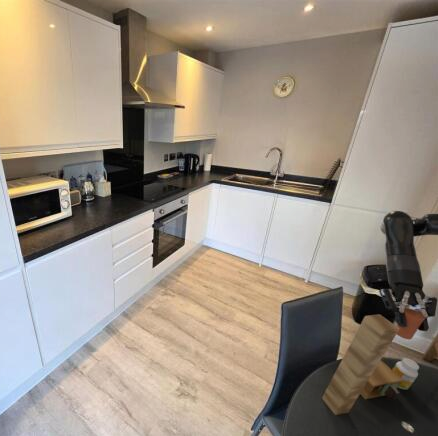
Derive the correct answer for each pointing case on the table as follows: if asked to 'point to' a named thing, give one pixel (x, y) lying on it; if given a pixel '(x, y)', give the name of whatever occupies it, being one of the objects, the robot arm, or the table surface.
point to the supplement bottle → (406, 372)
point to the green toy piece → (390, 390)
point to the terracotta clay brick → (410, 323)
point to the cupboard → (380, 381)
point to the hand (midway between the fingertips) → (412, 328)
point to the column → (359, 362)
